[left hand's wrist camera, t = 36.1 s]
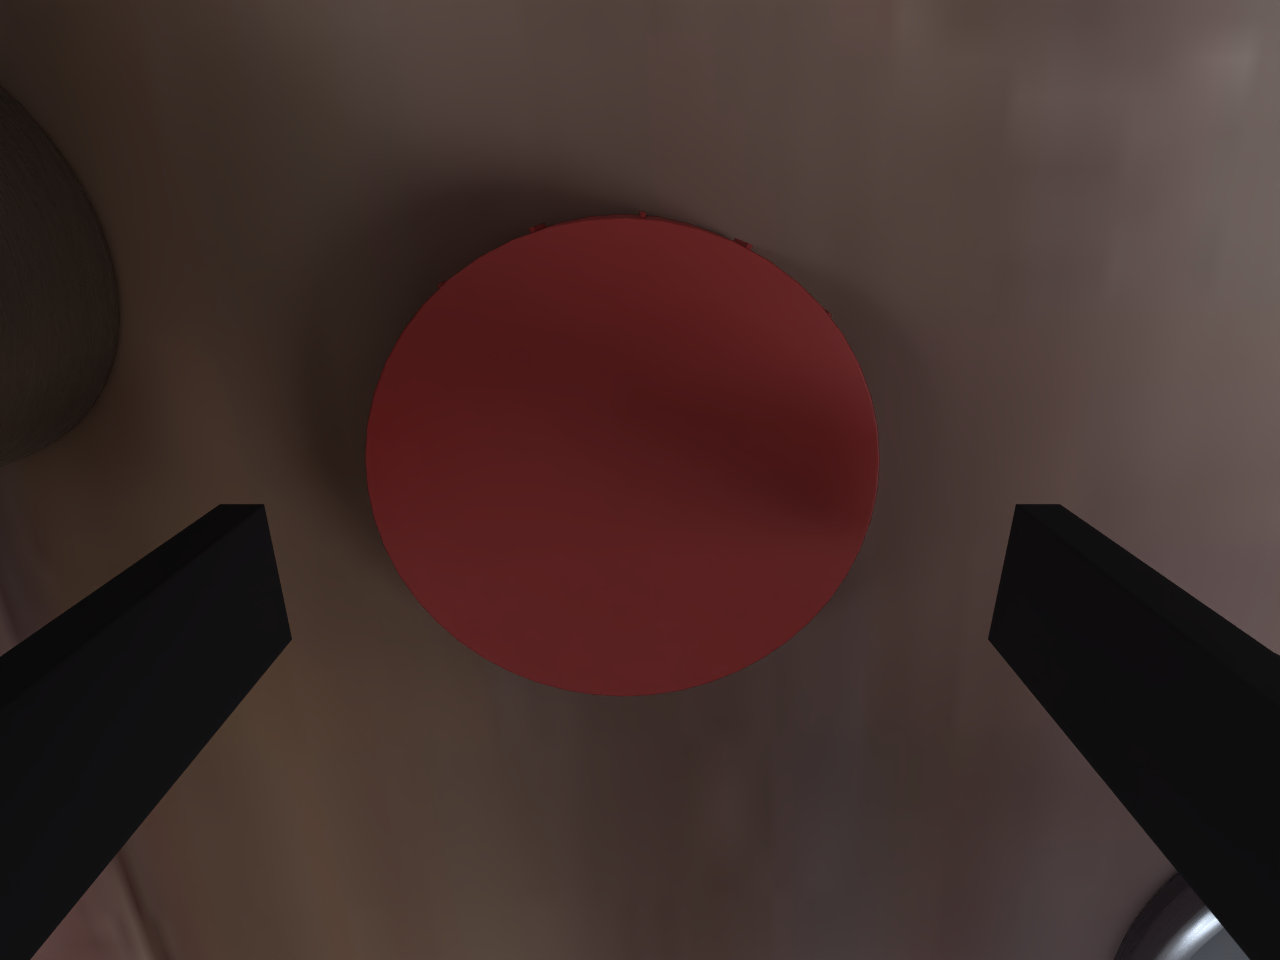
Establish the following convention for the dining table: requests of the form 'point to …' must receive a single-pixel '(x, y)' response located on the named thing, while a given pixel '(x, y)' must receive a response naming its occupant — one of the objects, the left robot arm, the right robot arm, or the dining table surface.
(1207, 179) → the dining table surface
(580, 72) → the dining table surface
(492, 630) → the lid
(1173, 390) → the dining table surface
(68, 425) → the jar
